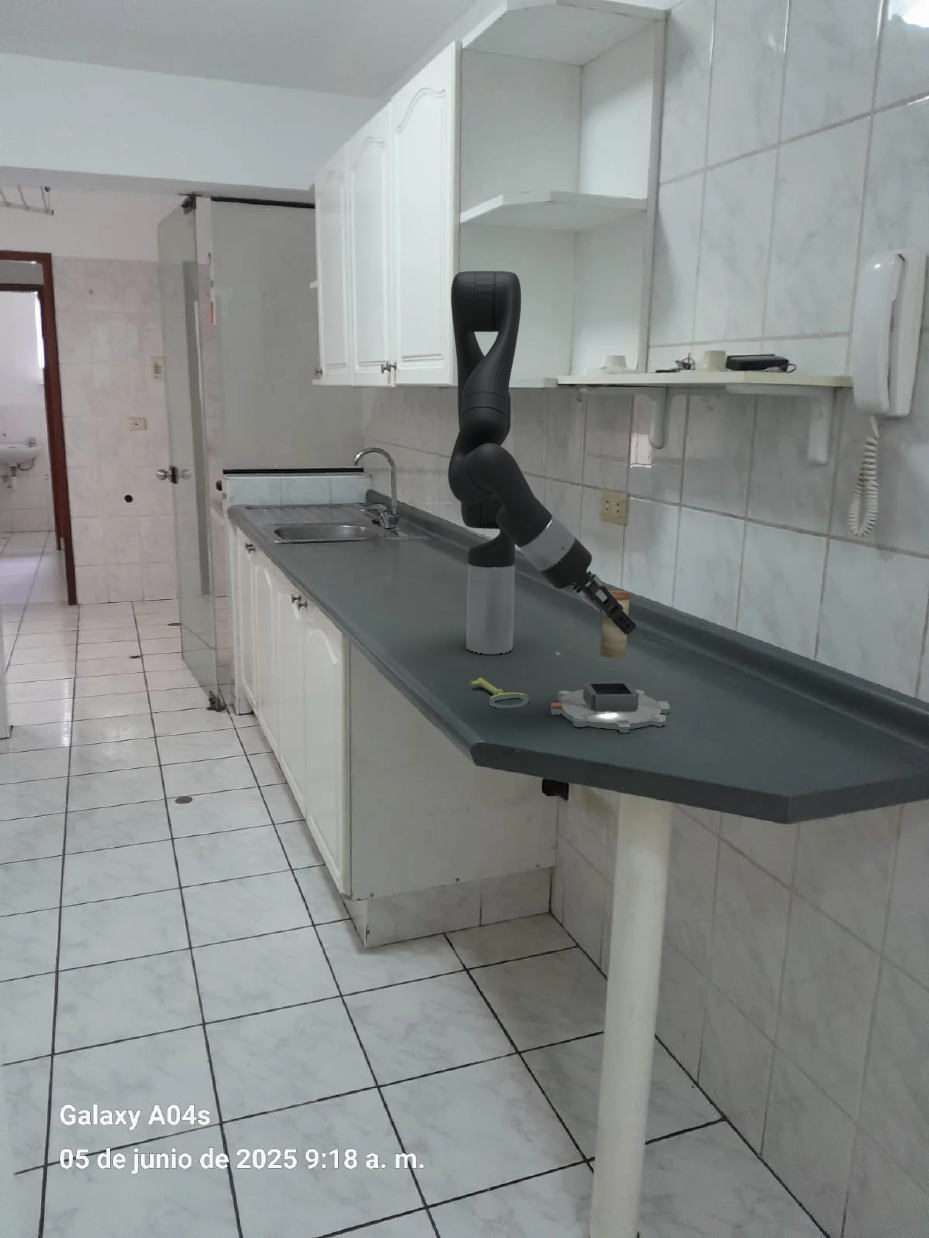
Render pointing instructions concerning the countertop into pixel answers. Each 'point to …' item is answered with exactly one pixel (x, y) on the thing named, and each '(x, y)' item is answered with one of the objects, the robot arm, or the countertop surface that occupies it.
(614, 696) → the sprocket plate
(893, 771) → the countertop surface
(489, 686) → the key
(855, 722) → the countertop surface
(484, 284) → the robot arm
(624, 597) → the pin
